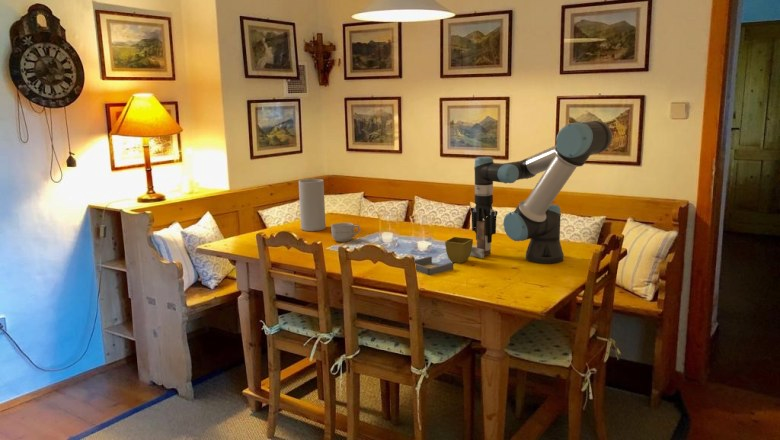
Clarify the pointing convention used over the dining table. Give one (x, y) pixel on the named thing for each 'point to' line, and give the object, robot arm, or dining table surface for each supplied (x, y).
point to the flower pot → (459, 249)
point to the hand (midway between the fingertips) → (483, 249)
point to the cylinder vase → (312, 204)
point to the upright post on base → (480, 241)
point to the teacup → (344, 231)
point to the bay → (434, 269)
